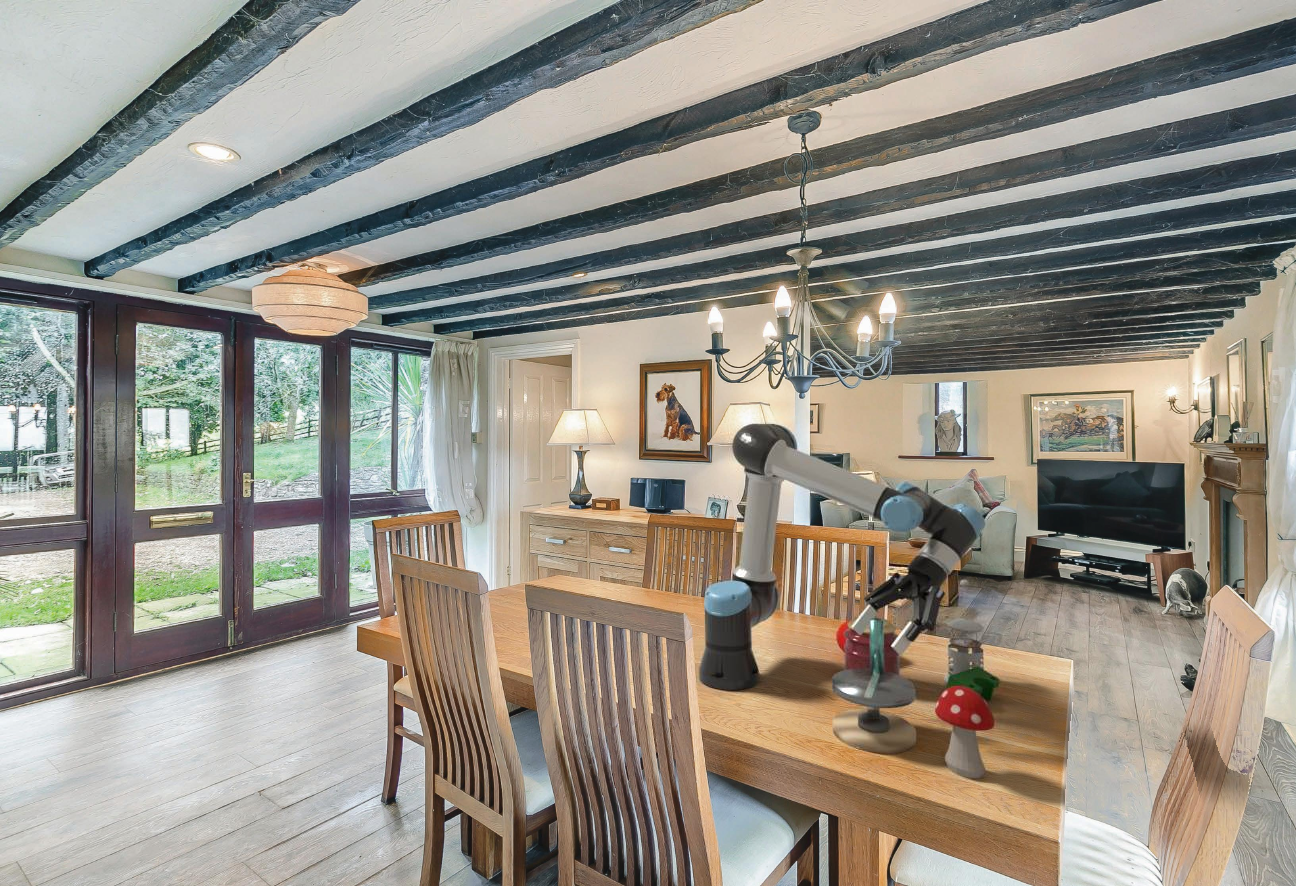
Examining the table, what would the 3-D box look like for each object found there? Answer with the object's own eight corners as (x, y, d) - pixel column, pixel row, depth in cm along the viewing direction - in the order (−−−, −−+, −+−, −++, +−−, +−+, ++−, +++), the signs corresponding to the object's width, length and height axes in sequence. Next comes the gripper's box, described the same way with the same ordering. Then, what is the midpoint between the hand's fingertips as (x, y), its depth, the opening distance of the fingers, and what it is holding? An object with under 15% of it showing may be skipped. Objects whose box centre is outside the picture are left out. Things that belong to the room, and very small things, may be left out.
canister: (871, 697, 143) (870, 622, 143) (833, 678, 155) (832, 608, 154) (912, 688, 148) (911, 614, 148) (873, 669, 160) (872, 602, 160)
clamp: (969, 724, 138) (968, 695, 134) (945, 708, 143) (943, 680, 139) (1002, 695, 143) (1002, 666, 139) (978, 680, 148) (977, 652, 144)
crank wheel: (913, 743, 115) (911, 646, 115) (825, 726, 122) (824, 635, 122) (918, 708, 129) (917, 622, 129) (840, 694, 137) (839, 614, 137)
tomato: (885, 668, 160) (884, 628, 160) (835, 663, 164) (835, 624, 164) (883, 651, 173) (882, 614, 173) (837, 647, 177) (836, 610, 177)
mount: (817, 722, 131) (817, 707, 131) (881, 711, 135) (881, 697, 135) (864, 759, 116) (864, 743, 116) (934, 745, 120) (934, 730, 120)
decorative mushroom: (925, 765, 113) (924, 683, 113) (952, 751, 118) (951, 673, 118) (978, 790, 105) (977, 703, 105) (1005, 775, 109) (1004, 691, 109)
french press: (938, 681, 151) (936, 580, 151) (953, 668, 160) (951, 572, 160) (982, 692, 145) (980, 586, 144) (995, 678, 153) (994, 577, 153)
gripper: (988, 589, 124) (927, 672, 120) (904, 565, 148) (851, 633, 144) (966, 564, 123) (903, 648, 119) (885, 544, 147) (831, 613, 143)
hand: (874, 640), depth 132 cm, fingers open, 13 cm apart
